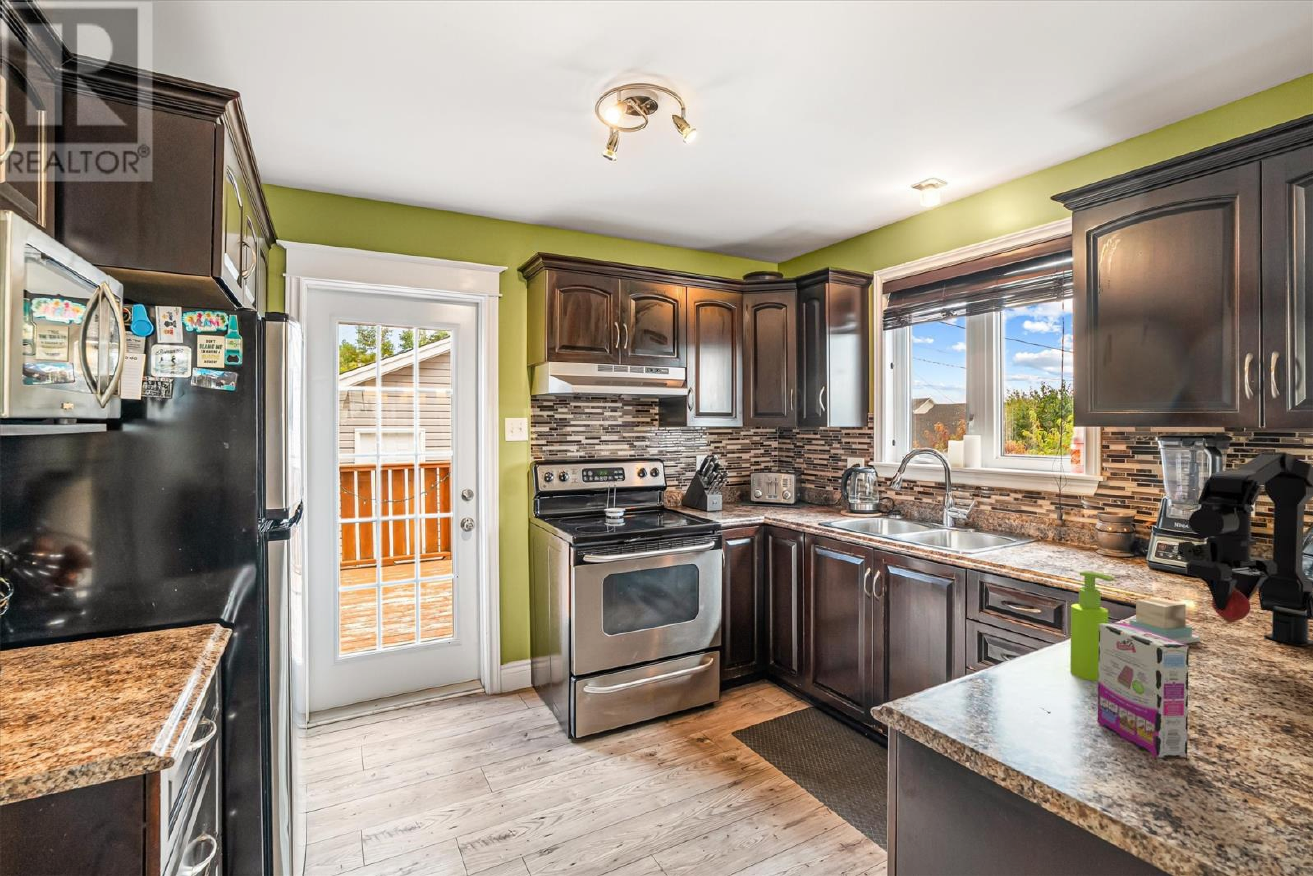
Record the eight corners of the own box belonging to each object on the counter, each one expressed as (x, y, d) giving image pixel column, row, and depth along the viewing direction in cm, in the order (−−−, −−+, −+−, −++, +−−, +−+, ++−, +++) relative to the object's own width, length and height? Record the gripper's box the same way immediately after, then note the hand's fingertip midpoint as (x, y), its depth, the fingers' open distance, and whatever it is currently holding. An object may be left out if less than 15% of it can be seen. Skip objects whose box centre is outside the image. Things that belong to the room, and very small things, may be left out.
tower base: (1151, 627, 147) (1151, 615, 147) (1199, 641, 137) (1199, 628, 137) (1122, 631, 144) (1122, 619, 144) (1169, 646, 134) (1169, 632, 134)
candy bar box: (1190, 758, 88) (1191, 645, 87) (1158, 760, 87) (1159, 646, 87) (1124, 722, 99) (1125, 621, 99) (1095, 723, 98) (1096, 622, 98)
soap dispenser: (1103, 685, 113) (1104, 578, 113) (1063, 672, 119) (1065, 570, 119) (1120, 680, 115) (1121, 575, 115) (1080, 667, 122) (1081, 567, 121)
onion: (1257, 627, 123) (1258, 588, 123) (1224, 625, 124) (1225, 587, 124) (1236, 619, 129) (1236, 581, 129) (1205, 617, 130) (1205, 580, 130)
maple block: (1156, 618, 144) (1156, 597, 144) (1185, 626, 139) (1185, 604, 139) (1136, 621, 142) (1136, 599, 142) (1164, 629, 136) (1164, 606, 136)
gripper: (1215, 526, 137) (1214, 595, 137) (1158, 529, 131) (1157, 601, 131) (1279, 533, 126) (1278, 608, 127) (1219, 538, 121) (1218, 616, 121)
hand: (1230, 608), depth 127 cm, fingers closed on onion, 6 cm apart
